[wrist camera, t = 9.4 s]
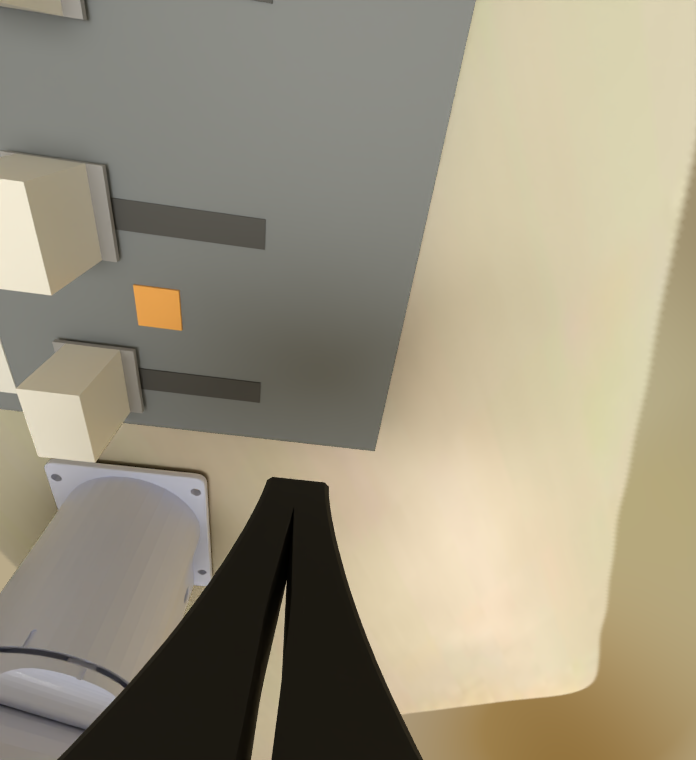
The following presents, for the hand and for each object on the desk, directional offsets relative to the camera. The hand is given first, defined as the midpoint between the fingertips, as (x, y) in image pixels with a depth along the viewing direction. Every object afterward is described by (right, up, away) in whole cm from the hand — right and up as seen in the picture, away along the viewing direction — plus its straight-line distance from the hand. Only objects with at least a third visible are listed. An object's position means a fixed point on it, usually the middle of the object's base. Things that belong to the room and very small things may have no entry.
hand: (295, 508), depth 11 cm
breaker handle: (-9, +3, +7) cm, 12 cm away
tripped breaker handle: (-8, +9, +4) cm, 12 cm away
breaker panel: (-5, +9, +5) cm, 12 cm away
